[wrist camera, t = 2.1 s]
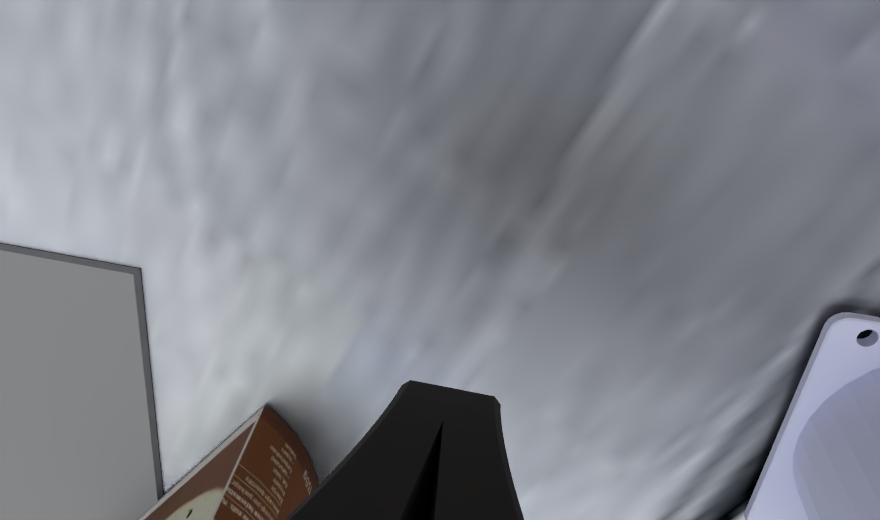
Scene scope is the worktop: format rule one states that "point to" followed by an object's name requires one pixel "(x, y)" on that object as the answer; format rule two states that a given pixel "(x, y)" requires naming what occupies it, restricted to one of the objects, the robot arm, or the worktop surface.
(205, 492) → the food container
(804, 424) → the robot arm
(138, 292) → the mat
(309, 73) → the worktop surface
